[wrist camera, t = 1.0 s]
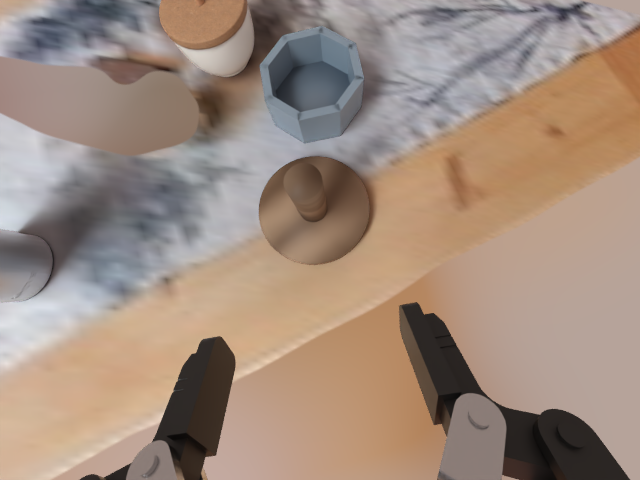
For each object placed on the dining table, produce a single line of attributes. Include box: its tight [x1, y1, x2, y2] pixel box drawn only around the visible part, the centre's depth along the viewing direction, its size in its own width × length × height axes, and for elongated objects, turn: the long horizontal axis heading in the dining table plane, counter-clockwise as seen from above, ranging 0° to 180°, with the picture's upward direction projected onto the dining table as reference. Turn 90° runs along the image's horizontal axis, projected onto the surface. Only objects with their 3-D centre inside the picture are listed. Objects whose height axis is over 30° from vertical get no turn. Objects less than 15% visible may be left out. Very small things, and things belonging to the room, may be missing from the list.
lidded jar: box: [159, 0, 254, 77], centre depth 34 cm, size 11×11×9 cm
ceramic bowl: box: [259, 26, 364, 143], centre depth 33 cm, size 12×12×5 cm
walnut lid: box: [259, 156, 370, 265], centre depth 29 cm, size 14×14×10 cm
